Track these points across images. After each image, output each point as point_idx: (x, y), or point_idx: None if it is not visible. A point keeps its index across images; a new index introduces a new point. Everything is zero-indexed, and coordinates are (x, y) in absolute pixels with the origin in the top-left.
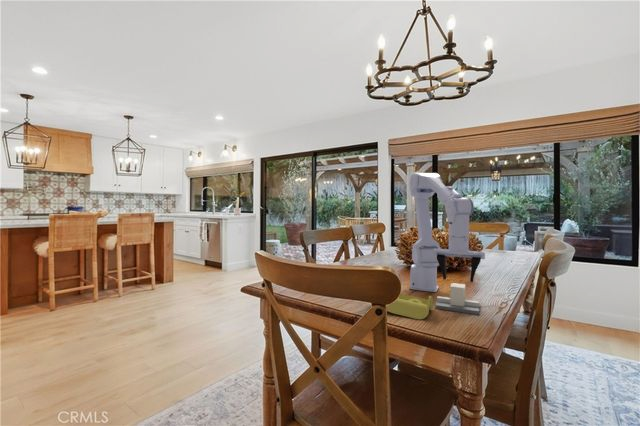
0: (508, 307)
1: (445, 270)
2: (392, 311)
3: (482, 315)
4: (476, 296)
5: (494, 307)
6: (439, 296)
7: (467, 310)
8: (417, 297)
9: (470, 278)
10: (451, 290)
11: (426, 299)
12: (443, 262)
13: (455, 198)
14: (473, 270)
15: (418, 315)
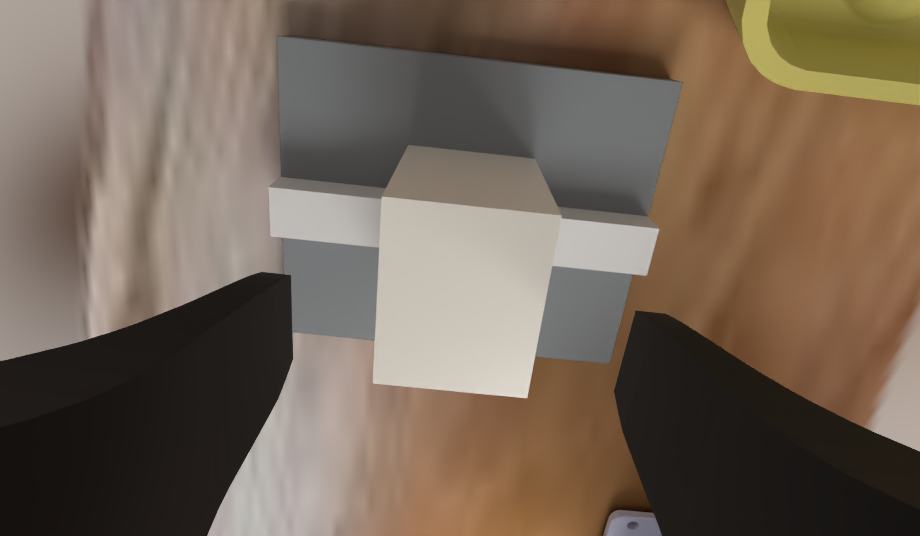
0: (91, 335)
1: (677, 431)
2: None
3: (259, 30)
4: (321, 511)
5: (184, 298)
6: (630, 273)
7: (382, 48)
8: (905, 82)
9: (268, 286)
10: (539, 196)
11: (801, 68)
12: (866, 466)
13: None
14: (140, 339)
15: None
